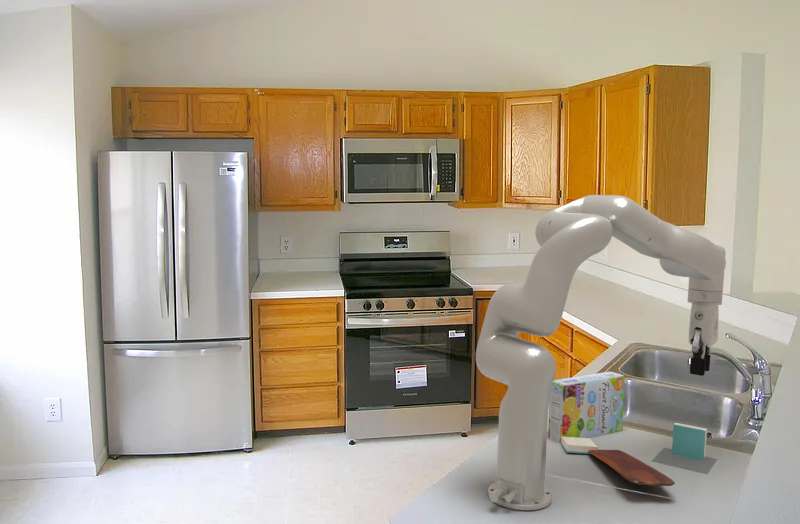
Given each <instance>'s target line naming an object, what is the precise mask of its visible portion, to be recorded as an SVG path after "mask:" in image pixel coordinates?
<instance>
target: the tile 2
mask: <svg viewBox="0 0 800 524" xmlns="http://www.w3.org/2000/svg"><path fill="white" fill-rule="evenodd" d="M672 429H673V430H672V445H671V449H672V454H677V455H681V456H686V457H690V458H695V459H699V460H704V459H705V457H706V451H707V449H706V447H707V436H708V435H707V434H708V428H703V427H699V426H695V425H690V424H683V423H679V422H675V423H673V428H672Z"/></svg>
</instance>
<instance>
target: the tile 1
mask: <svg viewBox="0 0 800 524" xmlns="http://www.w3.org/2000/svg"><path fill="white" fill-rule="evenodd" d="M560 445H561V447H563V449H564V450H565V452H566V453H567V454H568V453H570V454H581V455H582V454H584V455H591V454H590V453H589V452H588V451H590V450H599V449H598V448H599V447H598V446H597V445H596V443H595V442H594V441H593V440H592V439H591V438H576V437H562V436H561V443H560Z"/></svg>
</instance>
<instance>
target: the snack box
mask: <svg viewBox="0 0 800 524" xmlns="http://www.w3.org/2000/svg"><path fill="white" fill-rule="evenodd" d="M624 396H625V375H623V374H621V373H618V372H614V371H605V372H598V373H593V374H592V373H591V374H585V375H580V376H579V375H578V376H574V377H573V376H572V377H567V378H561V379H554V381H553V385H552V388H551V393H550V399H549V407H548V426H547V439H551V440H553V441H555V442H557V443H559V444H561V436H562V437H576V438H590V439H591V438H597V437H600V436H605V435H611V434H615V433H620V432H623V430H624V427H623V426H624V403H625V402H624V399H625V397H624Z"/></svg>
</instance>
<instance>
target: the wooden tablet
mask: <svg viewBox="0 0 800 524" xmlns="http://www.w3.org/2000/svg"><path fill="white" fill-rule="evenodd" d="M588 452H589V453H590V454H589V455H592V456H594V457H596V458H597V459H598V460H600V461H601V462H603V463H604V464H606V465H607V466H609V467H610V468H611V469H613V470H614V471H616V472H615V473H618V475H620V477H622V478H623V479H625V480H627V482H629V483H631V484H632V483H633V484H636V485H642V486H643V485H645V486H656V487H670V486H671V487H672V486H673V485H675V484H676V483H675V481H674V480H673V479H671V477H668V476H667V475H666V474H664V473H662V472H661V471H658V470H657V469H655V468H654V467H652V466H650V465H649V464H647V463H644V462H643V461H642V460H640V459H637V458H636V457H634V456H632V455H630V454H628V453H627V452H624V451H622V450H620V449H598V450H590V451H588Z"/></svg>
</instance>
